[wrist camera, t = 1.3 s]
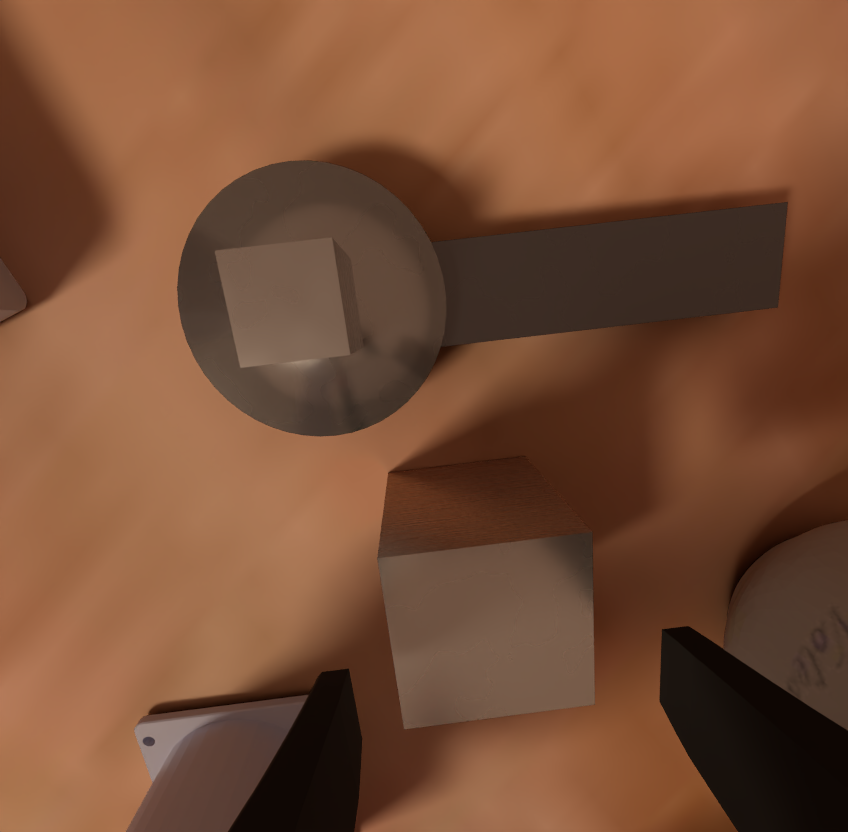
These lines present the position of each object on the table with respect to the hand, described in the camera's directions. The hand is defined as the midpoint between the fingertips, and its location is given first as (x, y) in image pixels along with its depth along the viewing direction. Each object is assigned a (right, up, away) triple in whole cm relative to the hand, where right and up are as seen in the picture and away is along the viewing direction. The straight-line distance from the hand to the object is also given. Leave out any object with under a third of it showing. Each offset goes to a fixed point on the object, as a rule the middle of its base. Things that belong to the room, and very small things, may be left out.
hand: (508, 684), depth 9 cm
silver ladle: (0, +10, +5) cm, 12 cm away
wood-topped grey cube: (0, +2, +7) cm, 7 cm away
